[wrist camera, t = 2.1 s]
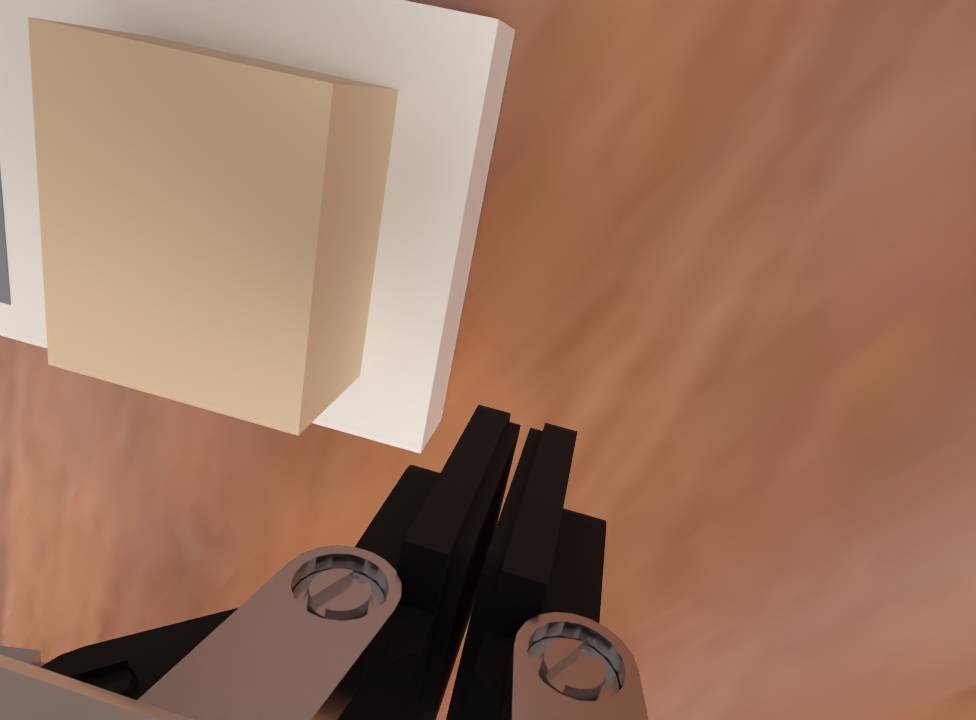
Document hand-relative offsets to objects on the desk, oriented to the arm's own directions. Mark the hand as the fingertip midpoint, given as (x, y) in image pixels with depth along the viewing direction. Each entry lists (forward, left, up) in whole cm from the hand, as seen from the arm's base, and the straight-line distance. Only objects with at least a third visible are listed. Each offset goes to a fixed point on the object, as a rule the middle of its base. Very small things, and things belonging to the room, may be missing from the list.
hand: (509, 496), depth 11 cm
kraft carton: (0, -11, -12) cm, 16 cm away
